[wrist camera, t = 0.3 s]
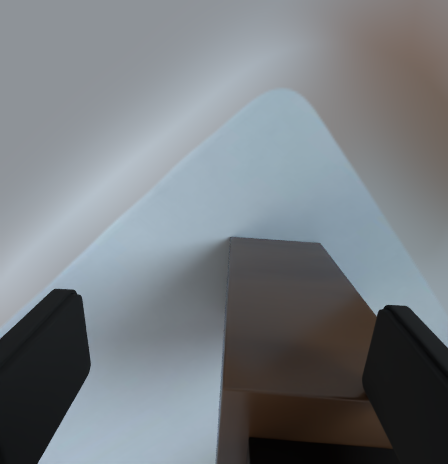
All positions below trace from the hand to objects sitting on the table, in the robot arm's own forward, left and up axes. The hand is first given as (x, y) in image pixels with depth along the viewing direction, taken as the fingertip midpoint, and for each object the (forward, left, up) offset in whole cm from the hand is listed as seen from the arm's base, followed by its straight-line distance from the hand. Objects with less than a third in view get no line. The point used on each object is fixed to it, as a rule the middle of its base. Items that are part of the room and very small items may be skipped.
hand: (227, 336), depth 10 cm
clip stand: (+5, +3, -14) cm, 16 cm away
